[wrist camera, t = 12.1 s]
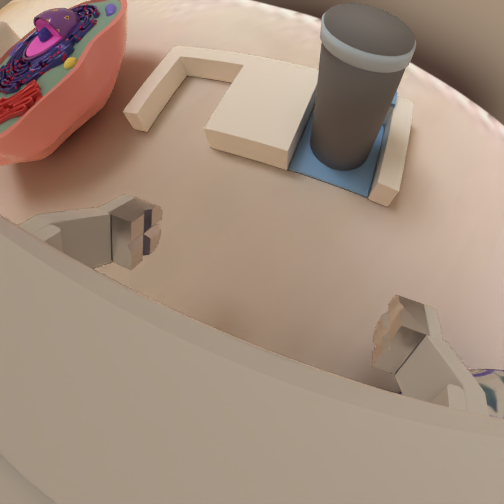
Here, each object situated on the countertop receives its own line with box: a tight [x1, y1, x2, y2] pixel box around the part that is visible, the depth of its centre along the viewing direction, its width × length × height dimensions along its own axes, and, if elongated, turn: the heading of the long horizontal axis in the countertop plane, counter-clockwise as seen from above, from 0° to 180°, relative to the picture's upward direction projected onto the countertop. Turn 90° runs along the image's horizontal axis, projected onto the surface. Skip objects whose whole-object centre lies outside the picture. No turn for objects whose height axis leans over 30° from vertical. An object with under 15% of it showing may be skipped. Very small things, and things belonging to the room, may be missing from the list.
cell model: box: [0, 0, 127, 165], centre depth 20 cm, size 17×20×11 cm
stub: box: [310, 3, 416, 171], centre depth 16 cm, size 5×5×11 cm
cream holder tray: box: [123, 46, 414, 207], centre depth 22 cm, size 21×8×3 cm, turn 68°
